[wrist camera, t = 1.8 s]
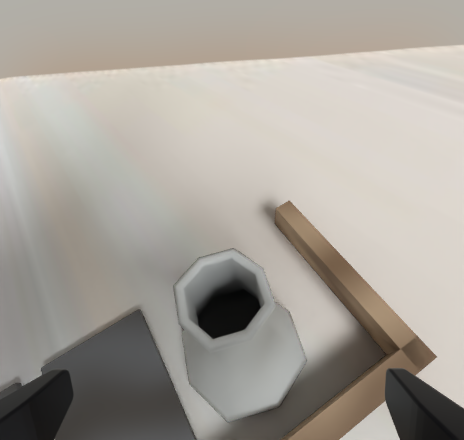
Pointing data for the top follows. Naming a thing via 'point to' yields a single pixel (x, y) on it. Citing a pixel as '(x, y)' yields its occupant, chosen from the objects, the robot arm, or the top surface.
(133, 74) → the top surface
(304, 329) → the top surface
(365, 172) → the top surface
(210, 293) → the flask
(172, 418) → the box
